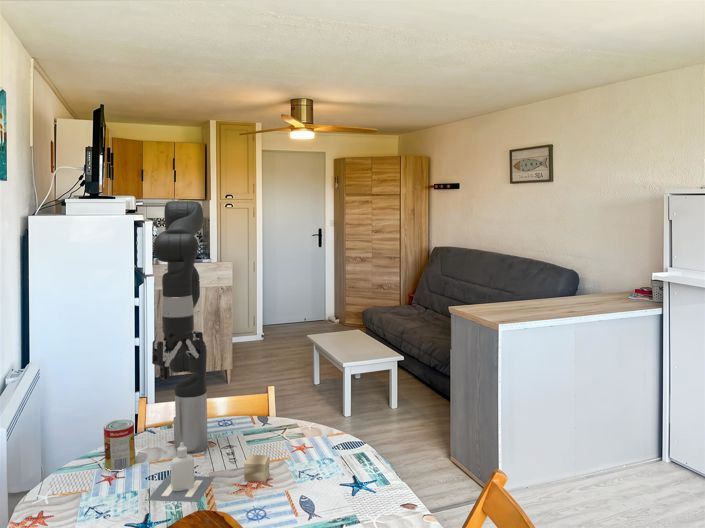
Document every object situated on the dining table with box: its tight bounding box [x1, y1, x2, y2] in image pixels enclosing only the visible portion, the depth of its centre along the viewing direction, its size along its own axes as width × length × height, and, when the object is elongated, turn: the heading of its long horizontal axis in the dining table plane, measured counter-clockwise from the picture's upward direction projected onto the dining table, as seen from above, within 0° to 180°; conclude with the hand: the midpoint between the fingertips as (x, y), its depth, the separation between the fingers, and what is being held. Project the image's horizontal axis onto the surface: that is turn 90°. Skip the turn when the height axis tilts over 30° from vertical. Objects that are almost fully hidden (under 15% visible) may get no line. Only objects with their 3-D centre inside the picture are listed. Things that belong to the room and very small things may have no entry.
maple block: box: [243, 454, 270, 485], centre depth 147 cm, size 6×6×6 cm
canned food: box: [103, 418, 136, 470], centre depth 154 cm, size 8×8×12 cm
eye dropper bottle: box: [170, 442, 195, 492], centre depth 140 cm, size 4×6×12 cm
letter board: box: [147, 474, 216, 503], centre depth 141 cm, size 13×13×1 cm
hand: (179, 376), depth 138 cm, fingers open, 8 cm apart
